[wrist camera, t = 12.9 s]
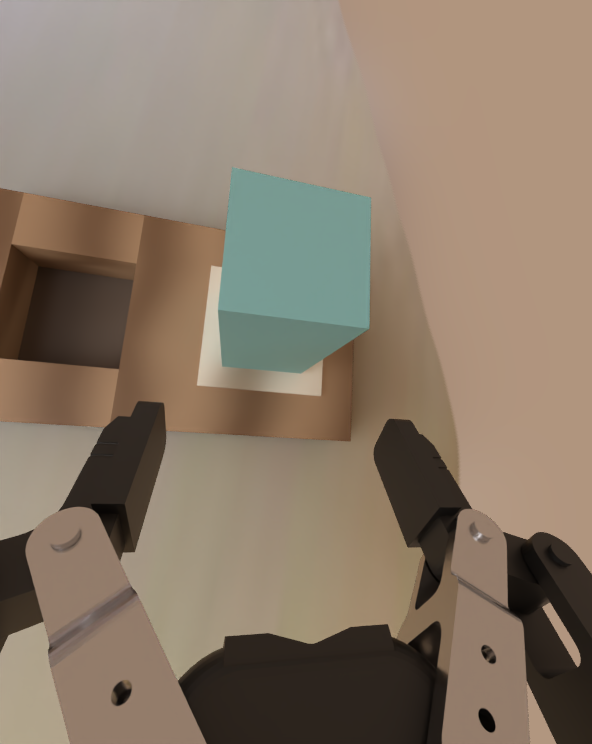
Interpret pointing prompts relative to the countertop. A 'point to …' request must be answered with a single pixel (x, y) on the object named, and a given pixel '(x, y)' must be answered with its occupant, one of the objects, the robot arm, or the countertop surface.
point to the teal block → (292, 273)
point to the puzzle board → (138, 329)
